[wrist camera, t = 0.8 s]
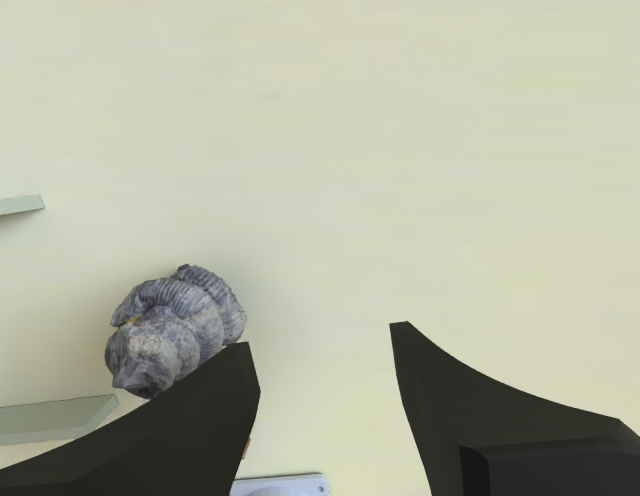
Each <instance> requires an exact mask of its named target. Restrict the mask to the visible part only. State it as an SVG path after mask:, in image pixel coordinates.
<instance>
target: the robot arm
mask: <svg viewBox="0 0 640 496" xmlns="http://www.w3.org/2000/svg"><path fill="white" fill-rule="evenodd" d="M389 325H390V332H391V340H392V347H393V354H394V361H395V368H396V376H397V381H398V385H399V390H400V394H401V399H402V403H403V407H404V410H405V413H406V416H407V419H408V422H409V424H410V427H411V430H412V433H413V436H414V439H415V442H416V445H417V448H418V451H419V454H420V457H421V460H422V463H423V466H424V469H425V472H426V475H427V479H428V482H429V485H430V489H431V494H432V496H640V437H639V436H638V435H637V434H636V433H635V432H634V431H632V430H631V429H630V428H629V427H628V426H627V425H625V424H624V423H623V422H622V421H621V420H619V419H617V418H613V417H609V416H605V415H601V414H597V413H593V412H589V411H585V410H581V409H577V408H573V407H569V406H566V405H562V404H559V403H556V402H553V401H550V400H547V399H544V398H540V397H537V396H534V395H532V394H529V393H526V392H523V391H521V390H518V389H516V388H513V387H511V386H509V385H506V384H504V383H501V382H499V381H497V380H495V379H493V378H490V377H488V376H486V375H484V374H482V373H481V372H479V371H477V370H475V369H473V368H471V367H469V366H467V365H466V364H464V363H462V362H461V361H459V360H457V359H456V358H454V357H453V356H451V355H450V354H448V353H447V352H445V351H444V350H442V349H441V348H440V347H438V346H437V345H436V344H434V343H433V342H432V341H431V340H429V339H428V338H427V337H426V336H425V335H423V334H422V333H421V332H420V331H419V330H418V329H416V328H415V327H414V326H413V325H412V324H411V323H409V322H408V321H405V322H398V323H390V324H389ZM260 393H261V390H260V386H259V382H258V379H257V375H256V371H255V367H254V363H253V359H252V355H251V351H250V347H249V343H248V342H241V343H233V344H230V345H228V346H227V347H225V348H224V349H222V350H221V351H219V352H218V353H217V354H215V355H214V356H212V357H211V358H210V359H208V360H207V361H206V362H204V363H203V364H202V365H200V366H199V367H198V368H196V369H195V370H194V371H192V372H191V373H190V374H188V375H187V376H185V377H184V378H183V379H181V380H180V381H178V382H177V383H175V384H174V385H173V386H171V387H170V388H168V389H167V390H165V391H164V392H162V393H161V394H159V395H158V396H156V397H155V398H153V399H152V400H150V401H148V402H147V403H145V404H143V405H142V406H140V407H138V408H136V409H135V410H133V411H131V412H130V413H128V414H126V415H124V416H122V417H120V418H118V419H116V420H114V421H113V422H111V423H109V424H107V425H105V426H103V427H101V428H99V429H97V430H95V431H93V432H91V433H89V434H87V435H85V436H82V437H80V438H78V439H76V440H74V441H71V442H69V443H67V444H64V445H62V446H60V447H57V448H55V449H53V450H50V451H48V452H45V453H43V454H40V455H38V456H35V457H33V458H30V459H27V460H25V461H22V462H19V463H17V464H14V465H11V466H8V467H6V468H3V469H0V496H330V494H329V489H328V485H327V480H326V477H325V476H324V475H322V474H311V475H298V476H286V477H273V478H261V479H249V480H236V481H234V479H235V476H236V473H237V470H238V467H239V464H240V462H241V459H242V456H243V453H244V450H245V447H246V445H247V442H248V439H249V436H250V433H251V430H252V427H253V424H254V421H255V418H256V413H257V409H258V404H259V398H260ZM319 486H320V487H319Z"/></svg>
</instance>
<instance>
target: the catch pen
mask: <svg viewBox="0 0 640 496" xmlns="http://www.w3.org/2000/svg"><path fill="white" fill-rule="evenodd" d="M41 208H45V207H44V204H43V202H42V199H41V196H40V195H35V196H26V197H17V198H8V199H0V216H3V215H8V214H14V213H19V212H25V211H30V210H35V209H41ZM117 405H118V402H117V399H116V396H115V395H107V396H98V397H89V398H80V399H72V400H63V401H54V402H45V403H37V404H28V405H19V406H11V407H2V408H0V446H4V445H14V444H24V443H34V442H44V441H54V440H64V439H74V438H80V437H82V436H85V435H87V434H89V433H91V432H93V431H94V430H95V429H96V428H97V427H98V425H99V424H100V423H101V422H102V421H103V420H104V419H105V418H106V417H107V416H108V415H109V414H110V412H111V411H112V410H113V409H114V408H115V407H116V406H117Z"/></svg>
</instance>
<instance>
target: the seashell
mask: <svg viewBox="0 0 640 496" xmlns="http://www.w3.org/2000/svg"><path fill="white" fill-rule="evenodd" d="M246 320H247V316H246V315H244V311H243V309H242V308H241V306H240V305H239V304H238V301H237V300H236V298H235V295H234V294H233V293H232V291H231V288H230V287H229V286H228V285H227V284H226V283H225V281H224V280H223V279H222V278H218V277H217V276H216V275H215V274H214V273H210V272H209V271H208V270H206V269H203V268H201V267H197V266H196V265H194V266H190V265H189V264H185V265H182V266H180V267H179V268H178V270H177V273H175V274H174V275H172V276H171V277H170V278H161V279H157V280H149V281H145V282H144V283H142V284H140V285H138V286H136V287H134V288H133V289H132V291H131V292H130V293H129V294H128V296H127V297H126V298H125V299H124V301H123V303H122V304H120V305H119V306H118V308H117V309H116V311H115V313H114V314H113V317H112V320H111V323H110V324H111V325H112V326H113V327H119V328H118V330H117V331H116V332H115V333H114V334H113V335H112V336H111V337H109V339H108V342H107V346H106V350H105V355H104V356H105V362H106V366H107V367H108V369H109V370H110V372H111V373H112V375H113V382H112V387H114V388H124V389H125V390H127V391H128V392H130V393H131V394H133V395H136V396H139V397H142V398H144V399H151V400H152V399H153V398H155V397H156V396H158V395H159V394H161V393H162V392H164V391H165V390H167V389H168V388H170V387H171V386H173V385H174V384H175V383H177V382H178V381H180V380H181V379H183V378H184V377H185V376H187V375H188V374H190V373H191V372H192V371H194V370H195V369H196V368H198V367H199V366H200V365H202V364H203V363H204V362H206V361H207V360H208V359H210V358H211V357H212V356H214V355H215V354H217V353H218V352H219V351H221V348H222V346H228V345H230V344H233V343H235V342H236V341H238V339H239V338H240V337H241V335H242V333H243V331H244V327H245V323H246Z"/></svg>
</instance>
